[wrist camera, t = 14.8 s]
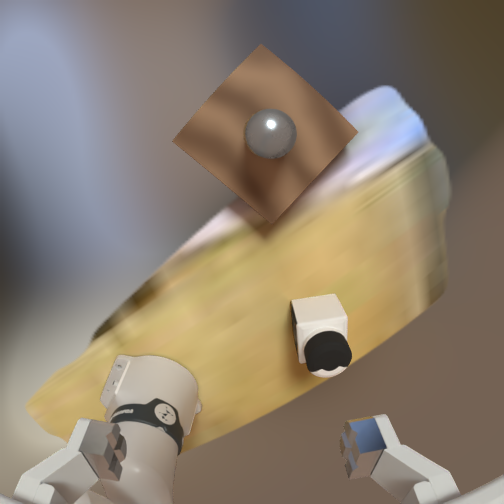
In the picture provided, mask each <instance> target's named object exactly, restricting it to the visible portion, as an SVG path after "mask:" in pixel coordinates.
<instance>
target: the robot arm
mask: <svg viewBox="0 0 504 504" xmlns="http://www.w3.org/2000/svg"><path fill="white" fill-rule="evenodd" d="M120 365H121V366H120ZM100 401H101V403H102V404H103V405H104V406H105V407H106V408H107V411H106V413H105V416H104V417H105V420H106V421H107V422H103V421H97V420H92V419H86V418H80V419H79V420H78V421H77V424H76V426H75V428H74V430H73V433H72V435H71V437H70V440H69V442H68V444H67V447H66V448H62V449H60V450H59V451H57V452H56V453H54V454H53V455H51V456H50V457H49V458H47V459H45V460H44V461H42V462H41V463H39V464H38V465H36V466H35V467H33V468H31V469H30V470H29V471H27V472H25V473H24V474H22V476H21V478H20V480H19V483H18V485H17V487H16V490H15V492H14V494H13V497H12V498H10V497H7V496H5V495H3V494H1V493H0V504H174V502H173V484H174V476H175V469H176V462H177V456H178V455H179V454H180V452H181V448H182V446H183V441H184V440H183V438H184V437H185V436H186V435H189V434H190V431H191V427H192V424H193V420H194V416H195V414H197V413H199V412H200V411H201V409H202V404H201V402H200V400H199V399H198V386H197V383H196V380H195V379H194V377H193V376H192V374H191V373H190V372H189V371H188V370H187V369H186V368H184V367H183V366H181V365H180V364H178V363H176V362H174V361H172V360H170V359H167V358H164V357H159V356H139V357H131V356H126V355H118V356H117V357H116V359H115V362H114V364H113V367H112V369H111V372H110V374H109V377H108V379H107V382H106V384H105V387H104V389H103V392H102V394H101V398H100ZM344 430H345V432H344V433H342V434H341V438H340V450H341V454H342V457H343V458H345V459H346V460H347V462H346V464H345V468H346V471H347V475H348V478H349V479H355V478H361V477H366V476H370V477H371V478H372V479H374V480H375V481H376V482H377V483H378V484H379V485H381V486H382V487H383V488H384V489H385V490H386V491H388V492H389V493H390V494H391V495H392V496H394V497H395V498H396V499H397V500H398V501H400V502H401V503H400V504H504V474H503V475H502V476H500V477H498V478H496V479H494V480H492V481H491V482H489V483H487V484H485V485H483V486H481V487H479V488H477V489H475V490H473V491H470V492H469V493H466V494H464V495H462V496H461V494H460V492H459V490H458V488H457V486H456V484H455V482H454V480H453V478H452V476H451V474H450V473H449V471H447V470H446V469H444V468H442V467H441V466H439V465H437V464H435V463H434V462H432V461H430V460H429V459H427V458H425V457H424V456H422V455H420V454H419V453H417V452H416V451H414V450H412V449H411V448H409V447H407V446H406V445H401V444H400V443H399V440H398V438H397V436H396V434H395V432H394V429H393V428H392V425H391V423H390V421H389V419H388V417H387V415H385V414H382V415H378V416H373V417H371V416H370V417H365V418H360V419H354V420H348V421H346V422H345V424H344ZM99 478H100V481H101V483H102V486H103V488H104V490H105V493H106V497H107V498H105V497H103V496H101V495H99V494H97V493H95V492H93V491H92V490H89V489H90V488H91V486H93V485H94V484H95V483H96V482H97V481H98V480H99Z"/></svg>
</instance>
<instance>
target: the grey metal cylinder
mask: <svg viewBox="0 0 504 504" xmlns="http://www.w3.org/2000/svg"><path fill="white" fill-rule="evenodd" d="M243 136H244V141H245V143H246V145H247V147H248V148H249V150H250V151H251V152H252V153H254V154H255V155H257V156H259V157H263V158H268V159H275V158H279V157H282V156H284V155H286V154H287V153H288V152H289V151H290V150H291V149H292V148H293V146H294V144H295V142H296V137H297V131H296V126H295V124H294V122H293V120H292V119H291V118H290V117H289V116H288V115H287V114H286V113H284V112H283V111H280V110H277V109H265V110H260V111H258V112H256V113H254V114H253V115H252V116H251V117H250V118H249V119H248V120H247V122H246V124H245V126H244V131H243Z"/></svg>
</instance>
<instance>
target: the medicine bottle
mask: <svg viewBox="0 0 504 504" xmlns="http://www.w3.org/2000/svg"><path fill="white" fill-rule="evenodd" d="M290 303H291V314H292V325H293V336H294V341H295V345H296V350H297V354H298V359H299V362H300V363H306V364H307V368H308V370H309V371H310V372H311V373H312V374H313V375H315V376H318V377H332V376H335V375H338V374H339V373H341V372H342V371H344V370H345V369H346V368H347V366H348V365H349V364H350V362H351V359H352V353H351V350H350V347H349V345H348V343H347V322H348V317H347V315H346V313H345V311H344V309H343V307H342V305H341V303H340V301H339V300H338V298H337V296H336V294H327V295H321V296H315V297H308V298H301V299H294V300H291V302H290Z"/></svg>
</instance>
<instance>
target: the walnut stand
mask: <svg viewBox="0 0 504 504" xmlns="http://www.w3.org/2000/svg"><path fill="white" fill-rule="evenodd" d="M265 109H277V110H280V111H283V112H284V113H286V114H287V115H288V116H289V117H290V118H291V119H292V120H293V122H294V124H295V126H296V131H297V137H296V142H295V144H294V146H293V148H292V149H291V150H290V151H289V152H288V153H287V154H286V155H284V156H282V157H279V158H275V159H268V158H263V157H259V156H257V155H255V154H254V153H252V152H251V151H250V150H249V148H248V147H247V145H246V143H245V141H244V136H243V131H244V126H245V124H246V122H247V120H248V119H249V118H250V117H251V116H252V115H253V114H254V113H256V112H258V111H260V110H265ZM357 133H358V131H357V130H356V129H355V128H354V127H353V126H352V125H351V124H350V123H349V122H348V121H347V120H346V119H345V118H344V117H343V116H342V115H341V114H340V113H339V112H338V111H337V110H336V109H335V108H334V107H333V106H332V105H331V104H330V103H329V102H328V101H327V100H326V99H325V98H323V96H321V95H320V94H319V93H318V92H317V91H316V90H315V89H314V88H313V87H312V86H311V85H309V84H308V83H307V82H306V81H305V80H304V79H302V77H300V76H299V75H298V74H297V73H296V72H295V71H294V70H292V69H291V68H290V67H289V66H288V65H286V64H285V63H284V62H283V61H282V60H280V59H279V58H278V57H277V56H275V55H274V54H273V53H272V52H271V51H269V50H268V49H267V48H266V47H264V46H263V45H262V44H260V45H259V46H258V47H257V48H256V49H255V50H254V51H253V52H252V53H251V54H250V55H249V56H248V57H247V58H246V59H245V60H244V61H243V62H242V63H241V64H240V65H239V66H238V67H237V68H236V69H235V70H234V71H233V72H232V73H231V75H230V76H229V77H228V78H227V79H226V80H225V81H224V82H223V83H222V84H221V85H220V86H219V87H218V89H217V90H216V91H215V92H214V93H213V94H212V95H211V96H210V97H209V98H208V100H207V101H206V102H205V103H204V104H203V105H202V106H201V107H200V109H199V110H198V111H197V112H196V113H195V114H194V116H193V117H192V118H191V119H190V120H189V122H188V123H187V124H186V125H185V126H184V127H183V129H182V130H181V131H180V132H179V133H178V135H177V136H176V137H175V138H174V140H173V141H172V142H174V143H175V144H176V145H177V146H179V147H180V148H181V149H182V150H183V151H185V152H186V153H187V154H188V155H190V156H191V157H192V158H193V159H194V160H196V161H197V162H198V163H199V164H201V165H202V166H203V167H204V168H205V169H207V170H208V171H209V172H210V173H211V174H213V175H214V176H215V177H216V178H217V179H219V180H220V181H221V182H222V183H223V184H225V185H226V186H227V187H228V188H229V189H231V190H232V191H233V192H234V193H235V194H237V195H238V196H239V197H240V198H241V199H242V200H244V201H245V202H246V203H247V204H248V205H249V206H251V207H252V208H253V209H254V210H255V211H256V212H258V213H259V214H260V215H261V216H262V217H264V218H265V219H266V220H267V221H268V222H269V223H270V224H273V223H274V222H275V221H276V220H277V219H278V218H279V216H280V215H281V214H282V213H283V212H284V211H285V210H286V209H287V208H288V207H289V206H290V205H291V204H292V203H293V201H294V200H295V199H296V198H297V197H298V196H299V195H300V194H301V193H302V192H303V191H304V190H305V189H306V188H307V186H308V185H309V184H310V183H311V182H312V181H313V180H314V179H315V178H316V177H317V176H318V175H319V174H320V173H321V172H322V170H323V169H324V168H325V167H326V166H327V165H328V164H329V163H330V162H331V161H332V160H333V159H334V158H335V157H336V156H337V154H338V153H339V152H340V151H341V150H342V149H343V148H344V147H345V146H346V145H347V144H348V143H349V142H350V141H351V140H352V138H353V137H354V136H355V135H356V134H357Z"/></svg>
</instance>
